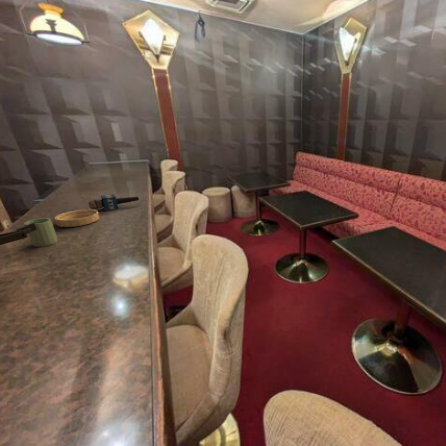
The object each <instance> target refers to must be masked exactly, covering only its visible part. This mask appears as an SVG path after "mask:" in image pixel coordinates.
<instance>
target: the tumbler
mask: <svg viewBox="0 0 446 446" xmlns="http://www.w3.org/2000/svg"><path fill="white" fill-rule="evenodd" d="M31 223H35V226H36V229H37V230H35V231H33V232H30V233H28V234H27V236H28V237H29V240H30V242H31V245H32V246H33V247H34V248H35V247H36V248H37V247H39V248H40V247H47V246H51V245H53V244H56V243H57V242H58V241H59V239H58V236H57V233H56V230H55V228H54V225H53V222H52V219H51V218H49V217H41V218H40V217H39V218H34V219H30V220H27V221H25V222H24V223H23V226H26V225H29V224H31Z"/></svg>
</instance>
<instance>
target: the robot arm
mask: <svg viewBox="0 0 446 446" xmlns="http://www.w3.org/2000/svg"><path fill="white" fill-rule="evenodd" d="M35 230H37V229H36V226H35V223H31V224H29V225H26V226H25V225H23V226H22V227H19V228H16V230H14V231H13V230H12V231H8V232H5V233H0V246H3V245H6V244H9V243H14V242H16V241H19V240H24V239H27V238H28V237H29V235H28V233H30V232H33V231H35Z"/></svg>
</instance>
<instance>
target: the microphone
mask: <svg viewBox="0 0 446 446" xmlns="http://www.w3.org/2000/svg"><path fill="white" fill-rule="evenodd" d="M137 201H140V197H139V196H129V197H116V195H115V194H114V193H109V194H103V195H100V199H91V200H89V201H88V207H89V209H91V210H100V209H104V211H105V212H107V211H113V210H119V205H123V204H127V203H132V202H137Z"/></svg>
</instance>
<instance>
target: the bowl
mask: <svg viewBox="0 0 446 446" xmlns="http://www.w3.org/2000/svg"><path fill="white" fill-rule="evenodd" d="M100 218H101V217H100V213H99V211H98V209H91V208H89V209H88V208H87V209H78V210H77V209H76V210H71V211H70V210H69V211H66V212H63V213H59V214H56V215H55V216H54V221H55V224H56V225H57V227H62V228H63V227H64V228H73V227H81V226H86V225H90V224H93V223H94V222H97V221H99V219H100Z"/></svg>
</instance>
